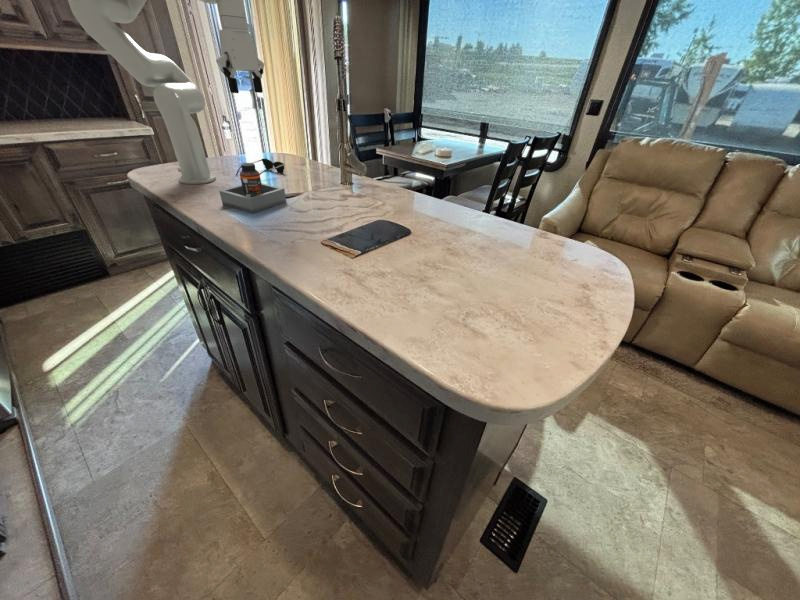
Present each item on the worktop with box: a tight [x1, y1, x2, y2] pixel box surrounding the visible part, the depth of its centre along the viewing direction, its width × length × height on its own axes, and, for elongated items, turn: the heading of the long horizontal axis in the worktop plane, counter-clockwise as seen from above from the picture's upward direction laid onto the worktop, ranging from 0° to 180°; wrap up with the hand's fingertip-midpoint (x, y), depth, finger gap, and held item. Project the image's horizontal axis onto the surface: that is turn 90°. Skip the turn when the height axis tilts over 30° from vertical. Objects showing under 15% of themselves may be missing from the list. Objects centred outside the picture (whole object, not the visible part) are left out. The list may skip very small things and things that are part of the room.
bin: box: [218, 182, 287, 214], centre depth 108 cm, size 14×14×4 cm
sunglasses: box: [235, 158, 285, 176], centre depth 137 cm, size 14×16×5 cm
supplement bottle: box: [239, 162, 263, 197], centre depth 105 cm, size 6×6×11 cm
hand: (247, 92), depth 108 cm, fingers open, 9 cm apart
